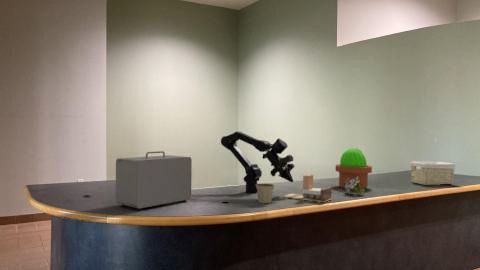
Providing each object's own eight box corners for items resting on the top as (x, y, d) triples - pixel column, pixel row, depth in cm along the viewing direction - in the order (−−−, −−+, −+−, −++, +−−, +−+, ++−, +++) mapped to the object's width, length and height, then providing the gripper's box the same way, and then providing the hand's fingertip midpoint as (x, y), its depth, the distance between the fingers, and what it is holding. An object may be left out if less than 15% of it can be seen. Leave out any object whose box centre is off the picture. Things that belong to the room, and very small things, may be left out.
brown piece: (302, 197, 192) (302, 175, 192) (308, 195, 199) (308, 174, 198) (320, 199, 186) (320, 177, 186) (326, 197, 193) (326, 175, 193)
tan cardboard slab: (282, 197, 197) (282, 185, 197) (291, 195, 205) (291, 183, 205) (324, 203, 184) (324, 189, 184) (331, 200, 193) (331, 187, 192)
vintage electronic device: (167, 196, 196) (167, 149, 196) (191, 201, 185) (191, 151, 184) (113, 206, 172) (113, 151, 171) (136, 212, 160) (137, 153, 160)
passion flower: (347, 203, 211) (339, 184, 217) (365, 199, 213) (356, 181, 219) (353, 195, 202) (345, 175, 208) (371, 191, 204) (362, 172, 210)
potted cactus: (334, 188, 230) (335, 148, 229) (336, 183, 251) (336, 146, 250) (372, 190, 223) (373, 149, 223) (370, 185, 244) (371, 147, 244)
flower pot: (274, 204, 179) (275, 186, 179) (255, 204, 180) (255, 186, 180) (274, 200, 189) (274, 183, 189) (255, 200, 189) (255, 183, 189)
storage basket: (439, 181, 267) (439, 161, 266) (456, 185, 251) (456, 163, 251) (408, 182, 262) (409, 161, 262) (424, 185, 246) (424, 163, 246)
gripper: (276, 150, 194) (295, 173, 188) (291, 149, 209) (309, 170, 204) (262, 164, 198) (280, 187, 193) (279, 162, 214) (296, 183, 208)
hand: (292, 181), depth 199 cm, fingers closed
